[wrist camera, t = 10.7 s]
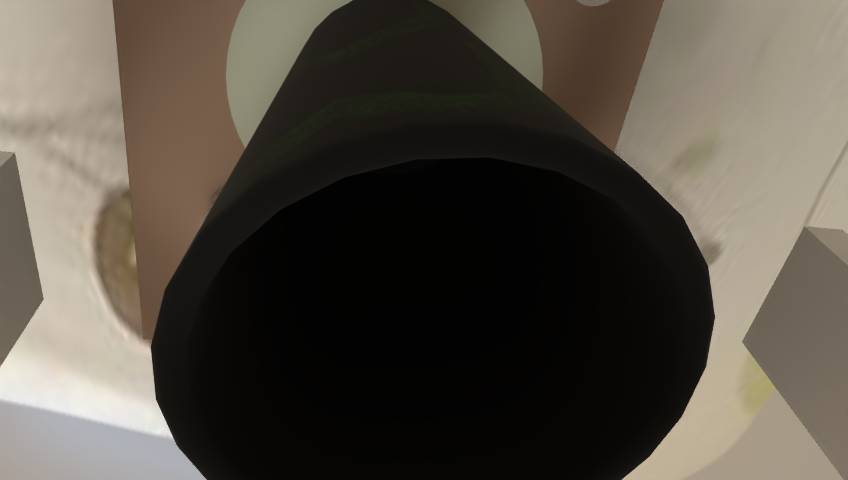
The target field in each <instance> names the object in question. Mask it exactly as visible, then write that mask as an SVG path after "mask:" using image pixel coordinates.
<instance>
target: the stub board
mask: <svg viewBox="0 0 848 480" xmlns="http://www.w3.org/2000/svg"><path fill="white" fill-rule="evenodd" d="M351 1H352V0H113V9H114V20H115V31H116V42H117V52H118V63H119V74H120V85H121V96H122V107H123V118H124V129H125V140H126V151H127V162H128V173H129V184H130V195H131V206H132V217H133V228H134V239H135V250H136V261H137V272H138V282H139V293H140V304H141V315H142V326H143V337H144V339H153V336H154V331H155V327H156V323H157V319H158V315H159V311H160V307H161V303H162V299H163V295H164V291H165V288H166V287H167V285H168V283H169V281H170V280H171V278H172V276H173V274H174V273H175V271H176V269H177V267H178V266H179V264H180V262H181V260H182V259H183V257H184V255H185V253H186V252H187V250H188V248H189V246H190V245H191V243H192V241H193V239H194V238H195V236H196V234H197V232H198V231H199V229H200V227H201V225H202V224H203V222H204V220H205V218H206V217H207V215H208V213H209V211H210V210H211V208H212V206H213V204H214V203H215V201H216V199H217V197H218V196H219V194H220V192H221V190H222V189H223V187H224V185H225V183H226V182H227V180H228V178H229V176H230V175H231V173H232V171H233V169H234V167H235V166H236V164H237V162H238V160H239V159H240V157H241V155H242V153H243V152H244V150H245V148H246V146H247V145H248V143H249V141H250V139H251V138H252V136H253V134H254V132H255V131H256V129H257V127H258V125H259V124H260V122H261V120H262V118H263V117H264V115H265V113H266V111H267V110H268V108H269V106H270V104H271V103H272V101H273V99H274V97H275V96H276V94H277V92H278V90H279V89H280V87H281V85H282V83H283V82H284V80H285V78H286V76H287V75H288V73H289V71H290V69H291V68H292V66H293V64H294V62H295V61H296V59H297V57H298V55H299V54H300V52H301V50H302V48H303V47H304V45H305V44H306V42H307V40H308V39H309V37H310V35H311V34H312V32H313V31H314V29H315V28H316V27H317V26H318V25H319V24H320V23H321V22H322V21H323V20H324V19H325V18H326V17H327V16H328V15H329V14H330V13H331V12H333V11H334V10H336V9H338V8H340V7H342V6H343V5H345V4H347V3H349V2H351ZM428 1H430V2H432V3H434V4H435V5H437V6H439V7H441V8H443V9H444V10H446V11H448V12H449V13H450V14H451V15H453V16H454V17H455V18H456V19H457V20H458V21H460V22H461V23H462V24H463V25H464V26H466V27H467V28H468V29H469V30H470V31H471V32H473V33H474V34H475V35H476V36H477V37H478V38H480V39H481V40H482V41H483V42H484V43H486V44H487V45H488V46H489V47H490V48H491V49H493V50H494V51H495V52H496V53H497V54H499V55H500V56H501V57H502V58H503V59H504V60H506V61H507V62H508V63H509V64H510V65H511V66H513V67H514V68H515V69H516V70H517V71H519V72H520V73H521V74H522V75H523V76H524V77H526V78H527V79H528V80H529V81H530V82H532V83H533V84H534V85H535V86H536V87H537V88H539V89H540V90H541V91H542V92H543V93H544V94H546V95H547V96H548V97H549V98H550V99H552V100H553V101H554V102H555V103H556V104H557V105H559V106H560V107H561V108H562V109H563V110H564V111H566V112H567V113H568V114H569V115H570V116H572V117H573V118H574V119H575V120H576V121H577V122H579V123H580V124H581V125H582V126H583V127H585V128H586V129H587V130H588V131H589V132H590V133H592V134H593V135H594V136H595V137H596V138H597V139H599V140H600V141H601V142H602V143H603V144H605V145H606V146H607V147H608V148H609V149H610V150H612V151H613V152H614V150H615V147H616V144H617V141H618V138H619V135H620V132H621V129H622V126H623V123H624V119H625V116H626V113H627V110H628V107H629V104H630V101H631V98H632V95H633V92H634V89H635V86H636V83H637V80H638V77H639V74H640V71H641V68H642V65H643V62H644V59H645V56H646V53H647V49H648V46H649V43H650V40H651V37H652V34H653V31H654V28H655V25H656V22H657V19H658V16H659V13H660V10H661V7H662V4H663V1H664V0H428Z"/></svg>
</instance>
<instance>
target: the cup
mask: <svg viewBox="0 0 848 480" xmlns="http://www.w3.org/2000/svg"><path fill="white" fill-rule="evenodd" d="M714 320H715V314H714V307H713V300H712V292H711V285H710V277H709V270H708V265H707V263H706V261H705V259H704V257H703V255H702V253H701V251H700V250H699V248H698V246H697V244H696V242H695V240H694V238H693V236H692V234H691V232H690V230H689V228H688V226H687V224H686V222H685V220H684V218H683V216H682V215H681V214H680V213H679V212H678V211H677V210H675V209H674V208H673V207H672V206H671V205H670V204H669V203H668V202H667V201H666V200H665V199H664V198H663V197H662V196H661V195H660V194H659V193H658V192H657V191H656V190H655V189H654V188H653V187H652V186H651V185H650V184H649V183H648V182H647V181H646V180H645V179H644V178H643V177H642V176H641V175H640V174H639V173H638V172H636V171H635V170H634V169H633V168H632V167H630V166H629V165H628V164H627V163H626V162H625V161H623V160H622V159H621V158H620V157H619V156H618V155H616V154H615V153H614V152H613V151H612V150H610V149H609V148H608V147H607V146H606V145H605V144H603V143H602V142H601V141H600V140H599V139H597V138H596V137H595V136H594V135H593V134H592V133H590V132H589V131H588V130H587V129H586V128H585V127H583V126H582V125H581V124H580V123H579V122H577V121H576V120H575V119H574V118H573V117H572V116H570V115H569V114H568V113H567V112H566V111H564V110H563V109H562V108H561V107H560V106H559V105H557V104H556V103H555V102H554V101H553V100H552V99H550V98H549V97H548V96H547V95H546V94H544V93H543V92H542V91H541V90H540V89H539V88H537V87H536V86H535V85H534V84H533V83H532V82H530V81H529V80H528V79H527V78H526V77H524V76H523V75H522V74H521V73H520V72H519V71H517V70H516V69H515V68H514V67H513V66H511V65H510V64H509V63H508V62H507V61H506V60H504V59H503V58H502V57H501V56H500V55H499V54H497V53H496V52H495V51H494V50H493V49H491V48H490V47H489V46H488V45H487V44H486V43H484V42H483V41H482V40H481V39H480V38H478V37H477V36H476V35H475V34H474V33H473V32H471V31H470V30H469V29H468V28H467V27H466V26H464V25H463V24H462V23H461V22H460V21H458V20H457V19H456V18H455V17H454V16H453V15H451V14H450V13H449V12H448V11H446V10H444V9H443V8H441V7H439V6H437V5H435V4H434V3H432V2H430V1H428V0H352V1H351V2H349V3H347V4H345V5H343V6H342V7H340V8H338V9H336V10H334V11H333V12H331V13H330V14H329V15H328V16H327V17H326V18H325V19H324V20H323V21H322V22H321V23H320V24H319V25H318V26H317V27H316V28H315V29H314V31H313V32H312V34H311V35H310V37H309V39H308V40H307V42H306V44H305V45H304V47H303V48H302V50H301V52H300V54H299V55H298V57H297V59H296V61H295V62H294V64H293V66H292V68H291V69H290V71H289V73H288V75H287V76H286V78H285V80H284V82H283V83H282V85H281V87H280V89H279V90H278V92H277V94H276V96H275V97H274V99H273V101H272V103H271V104H270V106H269V108H268V110H267V111H266V113H265V115H264V117H263V118H262V120H261V122H260V124H259V125H258V127H257V129H256V131H255V132H254V134H253V136H252V138H251V139H250V141H249V143H248V145H247V146H246V148H245V150H244V152H243V153H242V155H241V157H240V159H239V160H238V162H237V164H236V166H235V167H234V169H233V171H232V173H231V175H230V176H229V178H228V180H227V182H226V183H225V185H224V187H223V189H222V190H221V192H220V194H219V196H218V197H217V199H216V201H215V203H214V204H213V206H212V208H211V210H210V211H209V213H208V215H207V217H206V218H205V220H204V222H203V224H202V225H201V227H200V229H199V231H198V232H197V234H196V236H195V238H194V239H193V241H192V243H191V245H190V246H189V248H188V250H187V252H186V253H185V255H184V257H183V259H182V260H181V262H180V264H179V266H178V267H177V269H176V271H175V273H174V274H173V276H172V278H171V280H170V281H169V283H168V285H167V287H166V288H165V291H164V295H163V299H162V303H161V307H160V311H159V315H158V319H157V323H156V327H155V331H154V336H153V340H152V344H151V353H152V363H153V374H154V384H155V394H156V400H157V403H158V405H159V407H160V409H161V411H162V414H163V416H164V418H165V420H166V422H167V425H168V427H169V429H170V431H171V433H172V436H173V438H174V440H175V442H176V444H177V446H178V447H179V449H180V450H181V451H182V452H183V453H184V454H185V455H186V456H187V458H188V459H189V460H190V461H191V462H192V463H193V465H194V466H195V467H196V468H197V469H198V470H199V471H200V472H201V474H202V475H203V476H204V477H205V478H206V479H207V480H622V479H623V478H624V477H625V476H627V475H628V474H629V473H630V472H631V471H633V470H634V469H635V468H636V467H637V466H639V465H640V464H641V463H642V462H643V461H645V460H646V459H647V458H648V457H649V456H650V455H651V454H652V453H653V451H654V450H655V449H656V448H657V446H658V445H659V444H660V443H661V442H662V440H663V439H664V438H665V437H666V435H667V434H668V433H669V432H670V430H671V429H672V428H673V427H674V426H675V424H676V423H677V422H678V421H679V419H680V418H681V417H682V415H683V413H684V411H685V409H686V407H687V405H688V403H689V401H690V399H691V397H692V395H693V392H694V390H695V388H696V386H697V384H698V382H699V380H700V378H701V376H702V374H703V372H704V370H705V368H706V364H707V358H708V353H709V347H710V342H711V336H712V331H713V325H714Z"/></svg>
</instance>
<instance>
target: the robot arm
mask: <svg viewBox="0 0 848 480" xmlns="http://www.w3.org/2000/svg"><path fill="white" fill-rule="evenodd" d="M42 301H43V294H42V289H41V284H40V279H39V274H38V268H37V263H36V258H35V253H34V248H33V243H32V238H31V233H30V228H29V223H28V217H27V212H26V207H25V202H24V197H23V192H22V187H21V182H20V177H19V172H18V166H17V161H16V156H15V153H13V152H2V151H0V366H1V365H2V363H3V362H4V360H5V359H6V357H7V355H8V354H9V352H10V351H11V349H12V348H13V346H14V345H15V343H16V341H17V340H18V338H19V337H20V335H21V334H22V332H23V331H24V329H25V327H26V326H27V324H28V323H29V321H30V320H31V318H32V317H33V315H34V313H35V312H36V310H37V309H38V307H39V306H40V304H41V303H42ZM742 342H743V344H744V345H745V346H746V348H747V349H748V351H749V352H750V353H751V355H752V356H753V357H754V359H755V360H756V361H757V363H758V364H759V365H760V367H761V368H762V369H763V371H764V372H765V374H766V375H767V376H768V378H769V379H770V380H771V382H772V383H773V384H774V386H775V387H776V388H777V390H778V391H779V392H780V394H781V395H782V396H783V398H784V399H785V401H786V402H787V403H788V405H789V406H790V407H791V409H792V410H793V411H794V413H795V414H796V415H797V417H798V418H799V420H800V421H801V422H802V424H803V425H804V426H805V428H806V429H807V430H808V432H809V433H810V434H811V436H812V437H813V438H814V440H815V441H816V443H817V444H818V445H819V447H820V448H821V449H822V451H823V452H824V453H825V455H826V456H827V457H828V459H829V460H830V461H831V463H832V464H833V466H834V467H835V468H836V470H837V471H838V472H839V474H840V475H841V476H842V478H843V479H844V480H848V234H847V233H845V232H844V231H843V230H839V229H828V228H817V227H807V226H805V227H804V229H803V230H802V232H801V234H800V236H799V238H798V240H797V241H796V243H795V245H794V247H793V249H792V251H791V253H790V254H789V256H788V258H787V260H786V262H785V264H784V265H783V267H782V269H781V271H780V273H779V275H778V277H777V278H776V280H775V282H774V284H773V286H772V288H771V289H770V291H769V293H768V295H767V297H766V299H765V301H764V302H763V304H762V306H761V308H760V310H759V312H758V313H757V315H756V317H755V319H754V321H753V323H752V325H751V326H750V328H749V330H748V332H747V334H746V336H745V337H744V339H743V341H742Z"/></svg>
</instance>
